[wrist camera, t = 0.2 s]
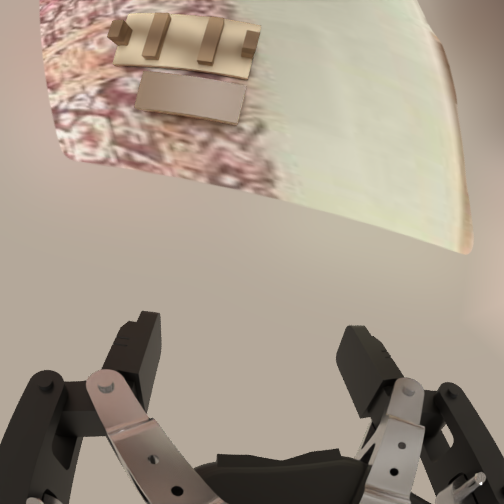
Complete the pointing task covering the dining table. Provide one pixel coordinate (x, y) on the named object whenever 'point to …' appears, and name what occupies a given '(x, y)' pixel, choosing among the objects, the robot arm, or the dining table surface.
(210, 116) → the brown rectangular box
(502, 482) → the robot arm
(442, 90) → the dining table surface
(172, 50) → the display cradle
